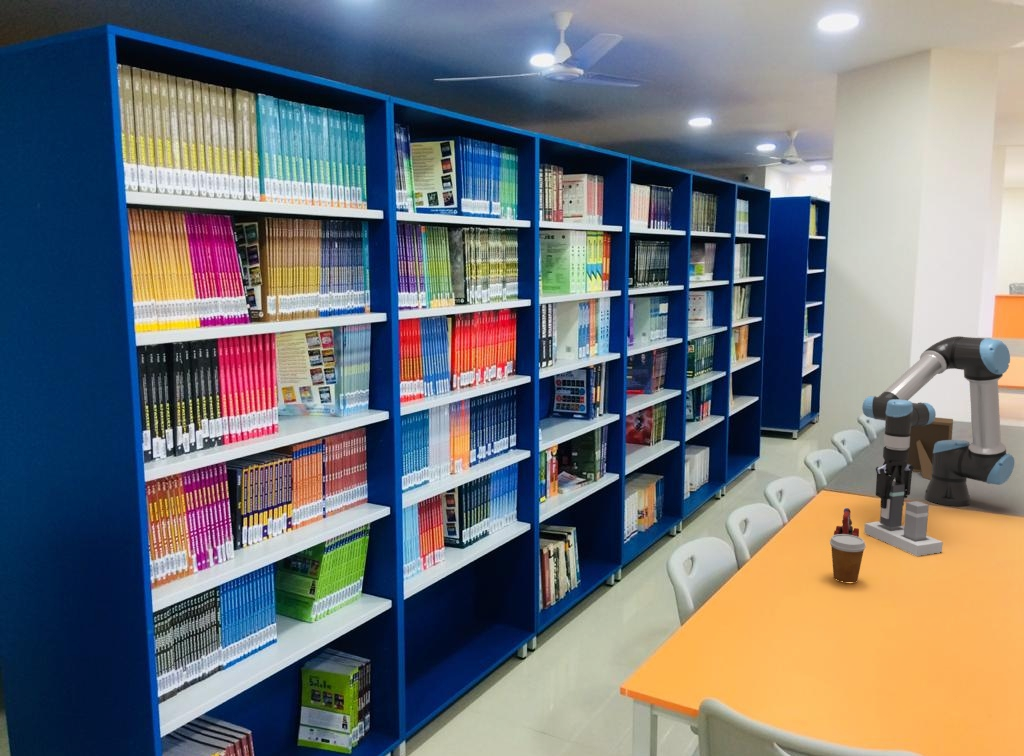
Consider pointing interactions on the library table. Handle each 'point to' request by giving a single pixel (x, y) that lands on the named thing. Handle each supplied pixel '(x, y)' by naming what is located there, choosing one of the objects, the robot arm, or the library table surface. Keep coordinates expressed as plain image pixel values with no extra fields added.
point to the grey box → (895, 506)
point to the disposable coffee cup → (846, 556)
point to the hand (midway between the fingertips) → (891, 516)
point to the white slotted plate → (903, 539)
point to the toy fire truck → (846, 525)
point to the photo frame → (927, 444)
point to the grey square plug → (916, 521)
